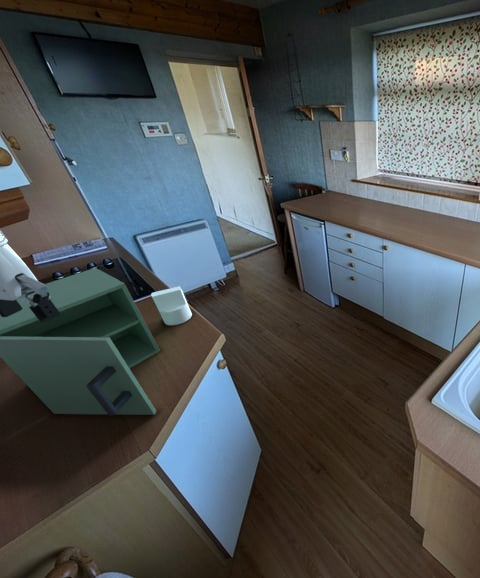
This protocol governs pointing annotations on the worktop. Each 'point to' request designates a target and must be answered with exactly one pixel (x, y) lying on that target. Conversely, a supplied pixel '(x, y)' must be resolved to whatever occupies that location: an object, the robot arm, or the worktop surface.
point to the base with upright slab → (172, 305)
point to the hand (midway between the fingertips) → (32, 315)
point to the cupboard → (88, 315)
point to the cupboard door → (76, 375)
